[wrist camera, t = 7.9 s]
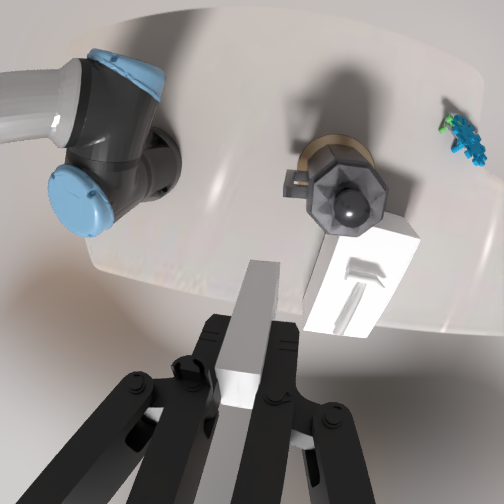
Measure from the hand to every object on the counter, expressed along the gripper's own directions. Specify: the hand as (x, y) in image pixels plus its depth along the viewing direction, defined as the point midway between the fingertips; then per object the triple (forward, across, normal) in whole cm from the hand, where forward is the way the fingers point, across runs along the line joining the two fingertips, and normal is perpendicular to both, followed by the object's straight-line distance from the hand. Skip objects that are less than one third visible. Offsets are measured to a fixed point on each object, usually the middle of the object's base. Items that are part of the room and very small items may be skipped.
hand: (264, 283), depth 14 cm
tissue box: (+37, +14, -21) cm, 44 cm away
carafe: (+36, +6, -3) cm, 37 cm away
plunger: (+33, +8, -3) cm, 34 cm away
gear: (+37, +32, +8) cm, 49 cm away
